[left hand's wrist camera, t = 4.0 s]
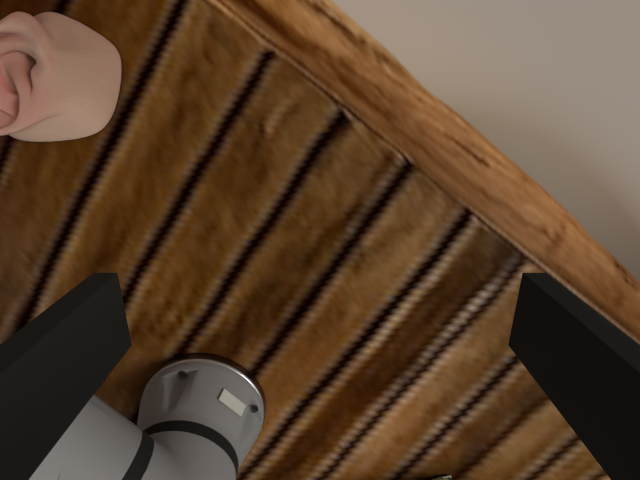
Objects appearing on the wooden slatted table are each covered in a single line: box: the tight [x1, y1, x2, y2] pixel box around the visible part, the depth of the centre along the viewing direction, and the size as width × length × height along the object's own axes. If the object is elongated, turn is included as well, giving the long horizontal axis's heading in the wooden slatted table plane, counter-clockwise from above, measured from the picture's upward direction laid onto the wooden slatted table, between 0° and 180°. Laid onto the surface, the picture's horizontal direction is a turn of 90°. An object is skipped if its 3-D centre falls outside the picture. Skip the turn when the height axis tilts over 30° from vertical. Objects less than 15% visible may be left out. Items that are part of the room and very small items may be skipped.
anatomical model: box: [0, 12, 122, 142], centre depth 34 cm, size 13×4×12 cm
